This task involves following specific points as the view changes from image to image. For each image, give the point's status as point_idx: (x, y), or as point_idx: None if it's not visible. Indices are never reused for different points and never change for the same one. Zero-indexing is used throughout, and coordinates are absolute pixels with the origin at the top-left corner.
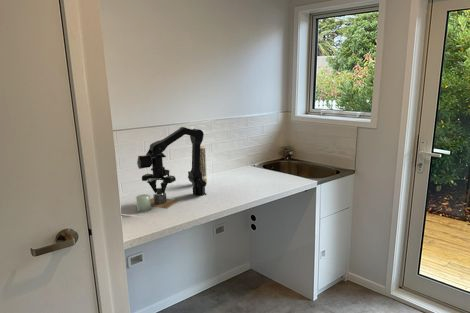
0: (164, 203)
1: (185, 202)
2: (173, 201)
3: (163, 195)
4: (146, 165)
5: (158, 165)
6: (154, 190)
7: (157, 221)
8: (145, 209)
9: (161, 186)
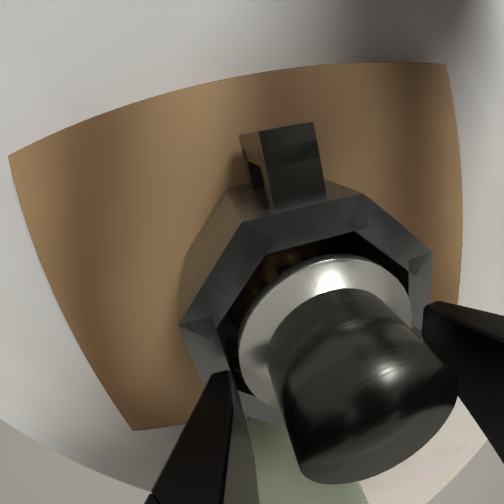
0: None
1: (478, 78)
2: (410, 139)
3: (417, 320)
4: None
5: None
6: (252, 468)
7: (452, 438)
8: None
9: None
